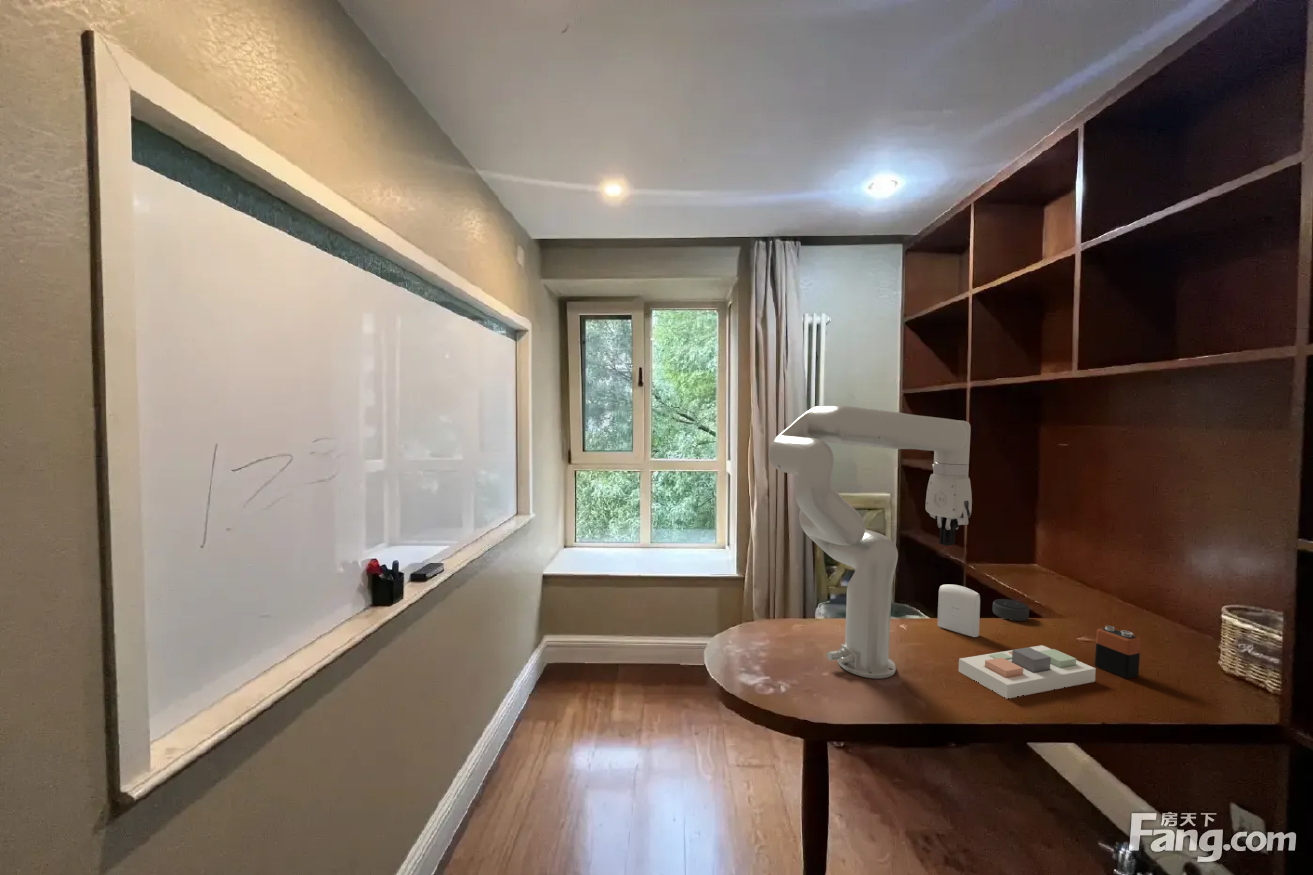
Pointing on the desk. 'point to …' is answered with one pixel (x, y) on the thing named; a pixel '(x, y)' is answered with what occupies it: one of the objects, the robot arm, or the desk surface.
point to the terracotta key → (1004, 667)
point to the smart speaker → (1010, 610)
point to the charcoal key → (1031, 660)
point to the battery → (1117, 652)
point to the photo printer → (959, 609)
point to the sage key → (1059, 658)
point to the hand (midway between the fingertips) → (947, 544)
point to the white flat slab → (1025, 675)
